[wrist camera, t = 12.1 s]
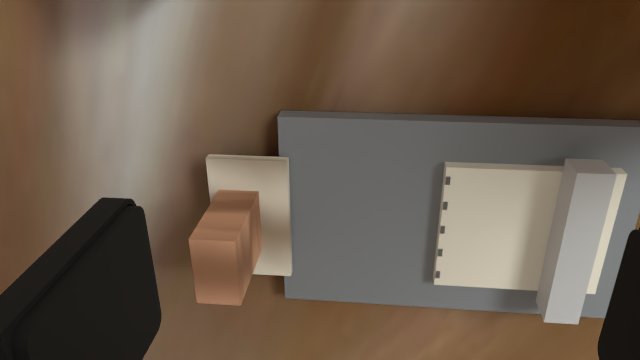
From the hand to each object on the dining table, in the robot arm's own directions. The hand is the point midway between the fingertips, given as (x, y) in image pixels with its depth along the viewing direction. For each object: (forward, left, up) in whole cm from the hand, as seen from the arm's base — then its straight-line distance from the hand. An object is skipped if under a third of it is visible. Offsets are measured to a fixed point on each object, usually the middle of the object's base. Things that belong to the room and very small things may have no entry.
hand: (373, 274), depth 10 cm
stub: (+14, -9, -27) cm, 31 cm away
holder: (+14, +6, -28) cm, 32 cm away
